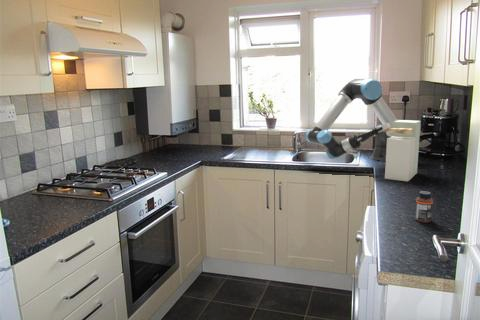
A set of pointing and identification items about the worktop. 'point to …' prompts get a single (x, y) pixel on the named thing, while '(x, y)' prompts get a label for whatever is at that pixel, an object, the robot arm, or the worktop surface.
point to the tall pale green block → (402, 152)
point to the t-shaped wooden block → (398, 130)
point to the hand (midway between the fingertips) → (389, 125)
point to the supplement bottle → (424, 207)
